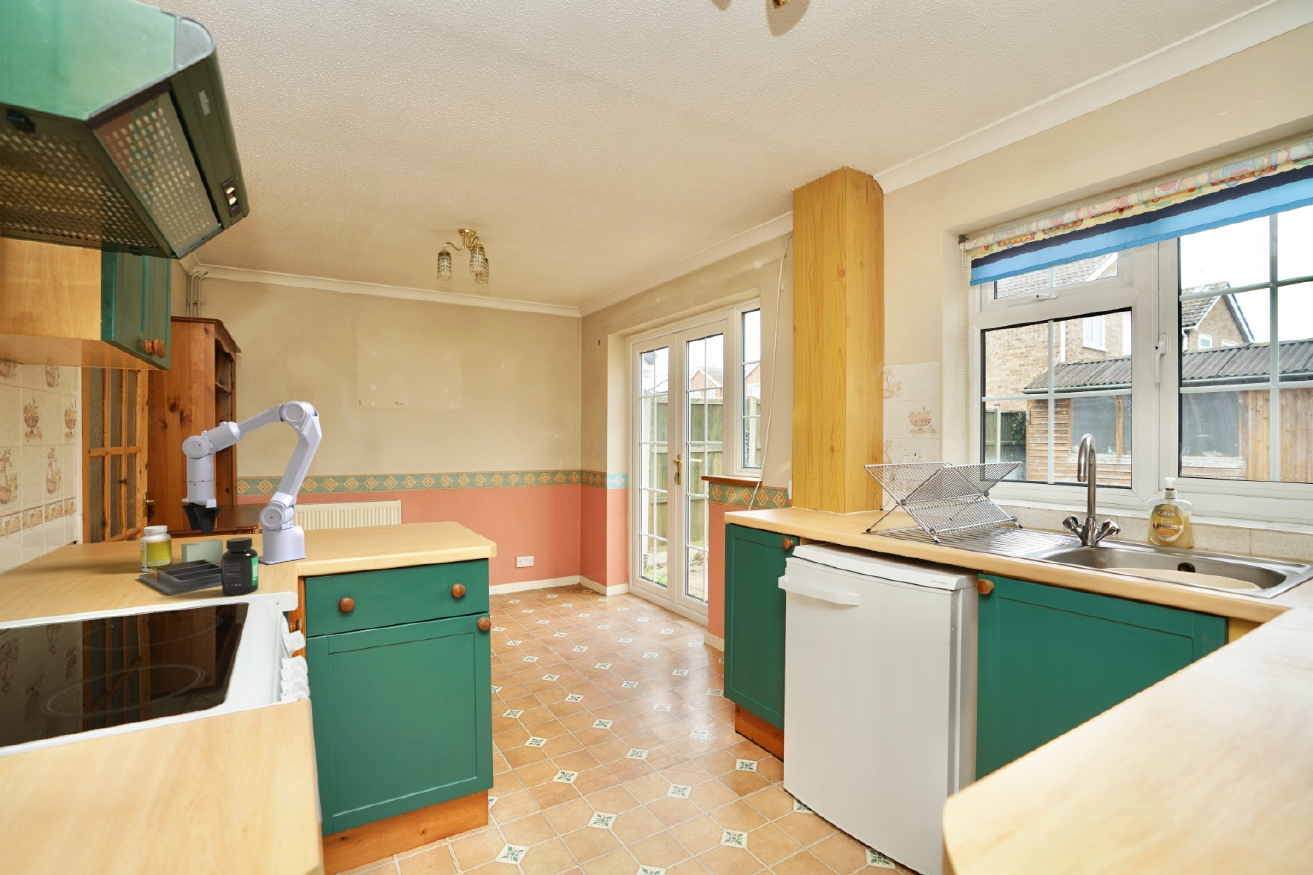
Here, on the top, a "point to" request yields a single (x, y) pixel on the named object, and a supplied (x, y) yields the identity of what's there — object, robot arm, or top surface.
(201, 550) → the panel block
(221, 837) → the top surface
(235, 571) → the supplement bottle
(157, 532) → the pill bottle
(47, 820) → the top surface
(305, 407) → the robot arm
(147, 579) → the rack
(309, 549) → the top surface
